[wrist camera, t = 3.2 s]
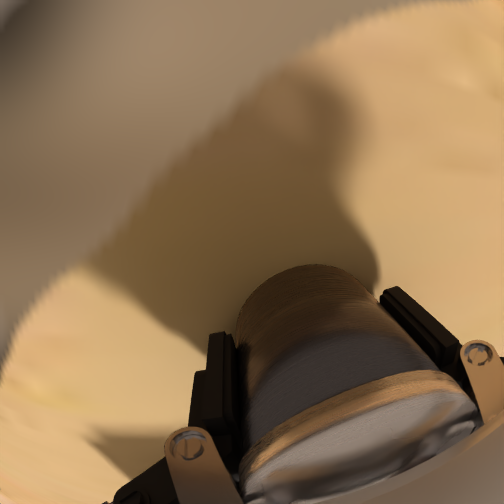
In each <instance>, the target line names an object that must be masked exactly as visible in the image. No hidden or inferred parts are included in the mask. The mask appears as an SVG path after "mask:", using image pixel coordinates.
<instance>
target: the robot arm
mask: <svg viewBox="0 0 504 504" xmlns="http://www.w3.org/2000/svg"><path fill="white" fill-rule="evenodd" d="M380 304H381V305H382V306H383V307H384V308H385V309H386V310H387V311H388V313H389V314H390V315H391V316H392V317H393V318H394V319H395V320H396V321H397V322H398V323H399V324H400V325H401V326H402V328H403V329H404V330H405V331H406V332H407V333H408V334H409V335H410V336H411V337H412V339H413V340H414V341H415V342H416V343H417V344H418V345H419V346H420V347H421V349H422V350H423V351H424V352H425V353H426V354H427V355H428V357H429V358H430V359H431V360H432V361H433V362H434V363H435V365H436V366H437V367H438V368H439V369H440V370H441V372H444V373H447V374H448V375H450V376H451V377H452V378H453V379H454V380H455V381H456V382H457V384H458V385H459V386H460V387H461V388H462V390H463V391H464V392H465V393H466V394H467V396H468V397H469V398H470V399H471V400H472V402H473V403H474V404H475V406H476V408H477V411H478V414H477V416H476V418H475V419H474V421H473V423H474V428H473V430H472V431H471V433H470V435H469V436H467V437H466V438H464V439H463V440H461V441H460V442H458V443H457V444H455V445H453V446H452V447H450V448H448V449H447V450H445V451H443V452H442V453H440V454H438V455H436V456H435V457H433V458H431V459H429V460H427V461H425V462H423V463H421V464H419V465H417V466H415V467H413V468H411V469H409V470H407V471H405V472H403V473H401V474H398V475H396V476H394V477H392V478H389V479H387V480H384V481H382V482H380V483H377V484H374V485H372V486H369V487H366V488H364V489H361V490H358V491H355V492H352V493H349V494H346V495H342V496H339V497H336V498H332V499H329V500H325V501H321V502H317V503H313V504H504V357H499V355H498V354H497V352H496V350H495V348H494V347H493V346H492V345H491V344H489V343H488V342H485V341H482V340H472V341H469V342H467V343H466V344H464V345H463V346H462V345H461V344H460V343H459V340H458V339H457V338H456V337H455V336H454V335H452V334H451V333H450V332H449V331H448V330H447V329H446V328H445V327H444V326H443V325H442V324H441V323H440V322H438V321H437V320H436V319H435V318H434V317H433V316H432V315H431V314H430V313H428V312H427V311H426V310H425V309H424V308H423V307H422V306H421V305H419V304H418V303H417V302H416V301H415V300H414V299H413V298H411V297H410V296H409V295H408V294H407V293H406V292H404V291H403V290H402V289H401V288H400V287H398V286H395V287H392V288H389V289H386V290H384V291H383V294H382V295H380ZM164 449H165V457H164V458H163V459H161V460H160V461H159V462H157V463H156V464H154V465H153V466H152V467H150V468H149V469H147V470H146V471H145V472H143V473H142V474H140V475H139V476H137V477H136V478H134V479H133V480H131V481H130V482H128V483H127V484H125V485H124V486H122V487H121V488H120V489H119V490H118V491H117V492H116V494H115V496H114V499H113V502H111V503H108V502H107V501H106V502H104V503H102V504H246V503H245V502H244V501H243V500H242V497H241V494H240V486H239V465H240V462H241V460H242V445H241V428H240V409H239V389H238V367H237V350H236V347H235V343H234V340H233V337H232V335H231V334H228V335H226V333H225V331H223V332H218V333H213V334H210V335H209V343H208V353H207V363H206V370H202V371H196V372H195V375H194V382H193V389H192V397H191V405H190V413H189V421H188V427H185V428H181V429H179V430H177V431H175V432H174V433H173V434H171V435H170V436H169V438H168V439H167V440H166V443H165V446H164Z"/></svg>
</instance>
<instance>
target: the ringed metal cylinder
mask: <svg viewBox="0 0 504 504" xmlns="http://www.w3.org/2000/svg"><path fill="white" fill-rule="evenodd" d="M236 343H237V367H238V389H239V409H240V428H241V445H242V460H241V462H240V465H239V486H240V494H241V497H242V500H243V501H244V502H245V503H246V504H313V503H317V502H321V501H325V500H329V499H332V498H336V497H339V496H342V495H346V494H349V493H352V492H355V491H358V490H361V489H364V488H366V487H369V486H372V485H374V484H377V483H380V482H382V481H384V480H387V479H389V478H392V477H394V476H396V475H398V474H401V473H403V472H405V471H407V470H409V469H411V468H413V467H415V466H417V465H419V464H421V463H423V462H425V461H427V460H429V459H431V458H433V457H435V456H436V455H438V454H440V453H442V452H443V451H445V450H447V449H448V448H450V447H452V446H453V445H455V444H457V443H458V442H460V441H461V440H463V439H464V438H466V437H467V436H469V435H470V433H471V431H472V430H473V428H474V423H473V421H474V419H475V418H476V416H477V414H478V411H477V408H476V406H475V404H474V403H473V402H472V400H471V399H470V398H469V397H468V396H467V394H466V393H465V392H464V391H463V390H462V388H461V387H460V386H459V385H458V384H457V382H456V381H455V380H454V379H453V378H452V377H451V376H450V375H448V374H447V373H444V372H441V370H440V369H439V368H438V367H437V366H436V365H435V363H434V362H433V361H432V360H431V359H430V358H429V357H428V355H427V354H426V353H425V352H424V351H423V350H422V349H421V347H420V346H419V345H418V344H417V343H416V342H415V341H414V340H413V339H412V337H411V336H410V335H409V334H408V333H407V332H406V331H405V330H404V329H403V328H402V326H401V325H400V324H399V323H398V322H397V321H396V320H395V319H394V318H393V317H392V316H391V315H390V314H389V313H388V311H387V310H386V309H385V308H384V307H383V306H382V305H381V304H380V303H379V302H378V301H377V300H376V299H375V298H374V297H373V296H372V295H371V294H370V293H369V292H368V291H367V290H366V289H365V288H364V286H363V285H362V284H361V283H360V282H359V281H358V280H357V279H355V278H354V277H353V276H352V275H350V274H349V273H347V272H345V271H343V270H341V269H338V268H336V267H332V266H327V265H317V264H316V265H304V266H298V267H294V268H291V269H288V270H285V271H283V272H281V273H278V274H276V275H275V276H273V277H271V278H270V279H268V280H267V281H265V282H264V283H263V284H261V285H260V286H259V287H258V288H257V289H256V290H255V291H254V292H253V293H252V294H251V296H250V297H249V298H248V299H247V301H246V302H245V304H244V306H243V307H242V310H241V312H240V314H239V317H238V321H237V327H236Z"/></svg>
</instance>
